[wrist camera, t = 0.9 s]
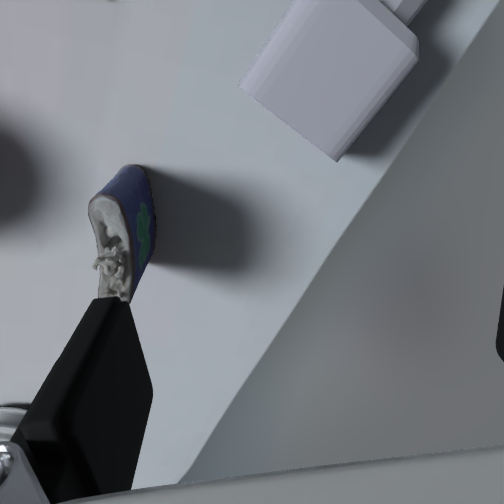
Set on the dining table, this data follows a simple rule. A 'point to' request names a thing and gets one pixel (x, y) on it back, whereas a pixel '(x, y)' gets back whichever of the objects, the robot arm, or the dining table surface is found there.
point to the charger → (334, 66)
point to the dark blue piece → (123, 231)
